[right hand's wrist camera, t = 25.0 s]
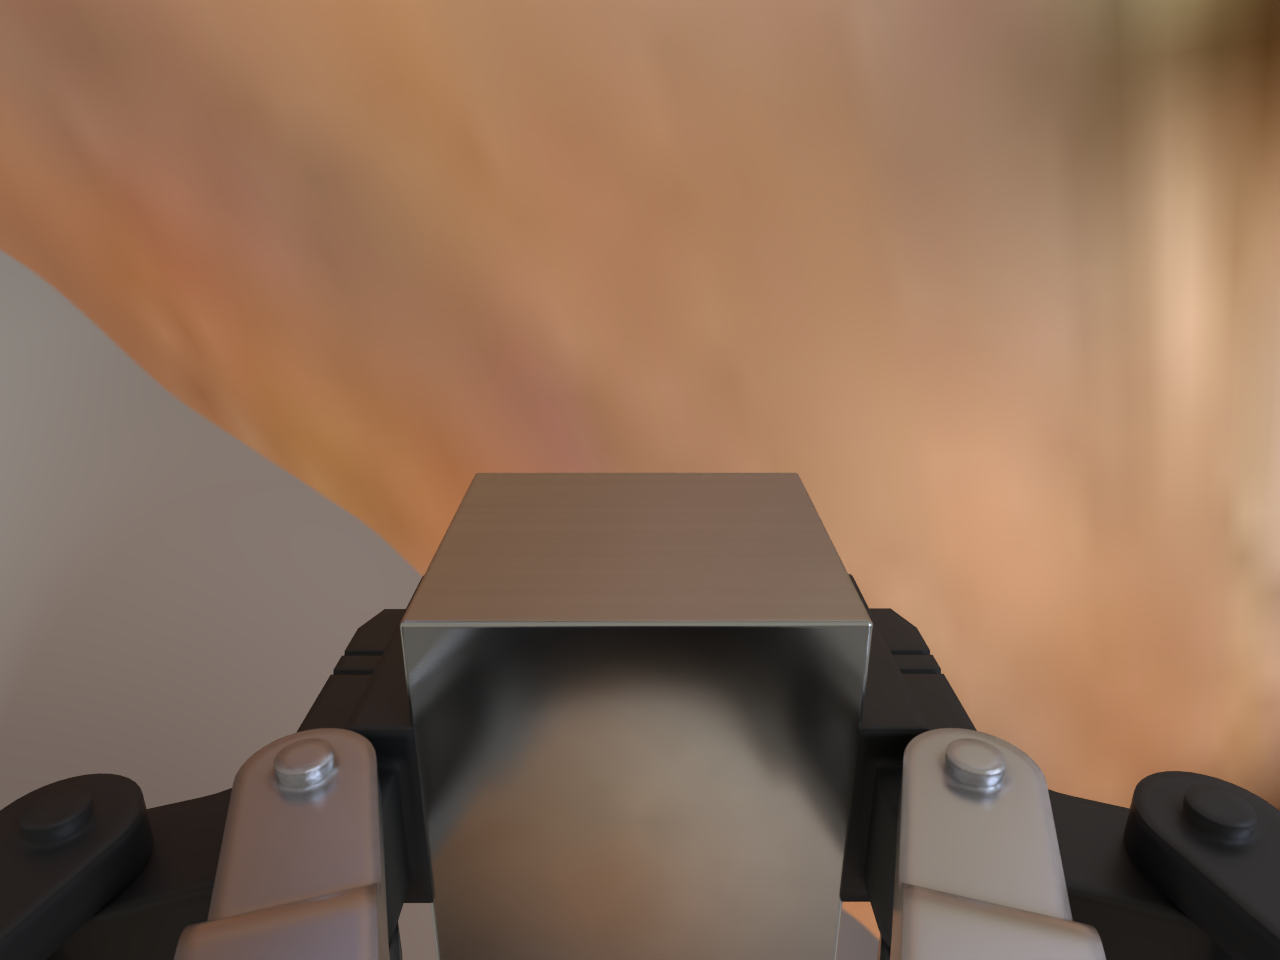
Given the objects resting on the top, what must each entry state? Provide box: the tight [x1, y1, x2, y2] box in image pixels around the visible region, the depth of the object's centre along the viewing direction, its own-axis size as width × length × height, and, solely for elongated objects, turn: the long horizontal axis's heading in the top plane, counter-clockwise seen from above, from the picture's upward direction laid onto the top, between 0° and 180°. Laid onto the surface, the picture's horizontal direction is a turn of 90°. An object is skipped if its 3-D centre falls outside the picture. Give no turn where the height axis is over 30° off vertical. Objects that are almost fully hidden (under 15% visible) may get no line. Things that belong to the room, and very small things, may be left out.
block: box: [400, 473, 873, 960], centre depth 11 cm, size 4×5×4 cm
